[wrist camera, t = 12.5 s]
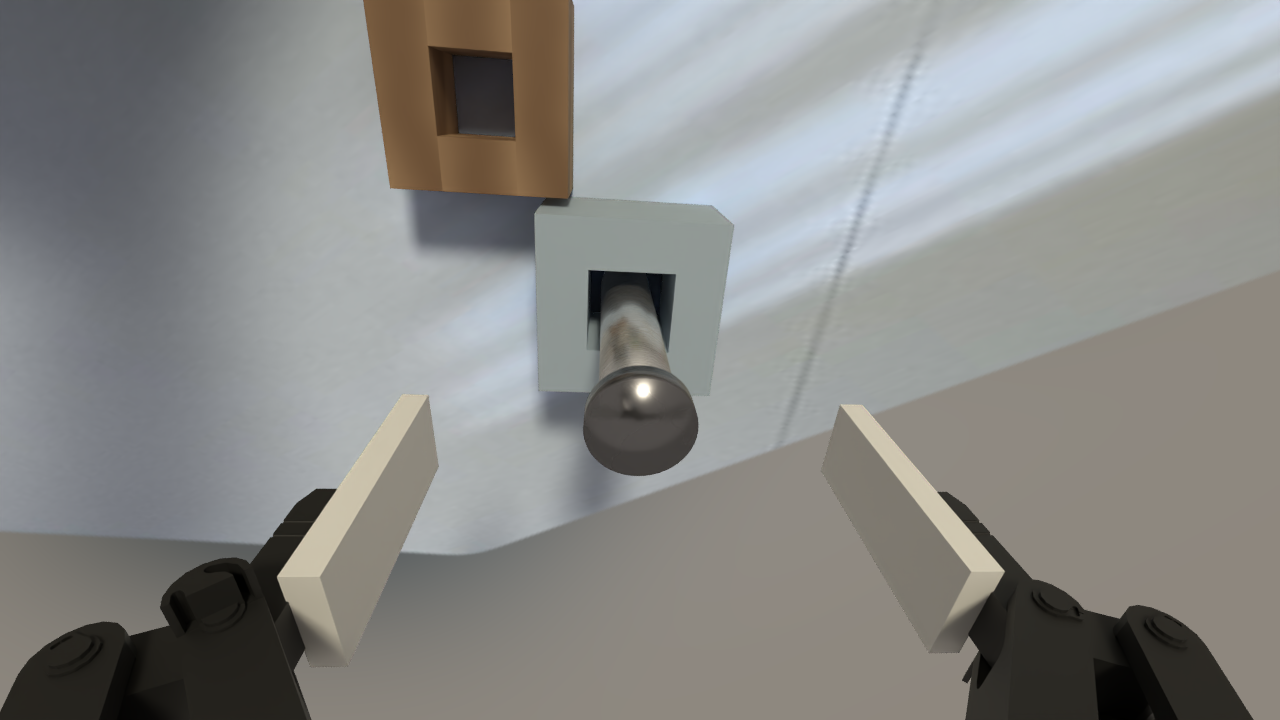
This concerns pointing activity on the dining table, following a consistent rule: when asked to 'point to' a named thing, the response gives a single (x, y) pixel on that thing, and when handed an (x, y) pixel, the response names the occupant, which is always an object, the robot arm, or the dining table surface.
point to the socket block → (628, 242)
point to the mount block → (426, 101)
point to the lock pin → (636, 386)
